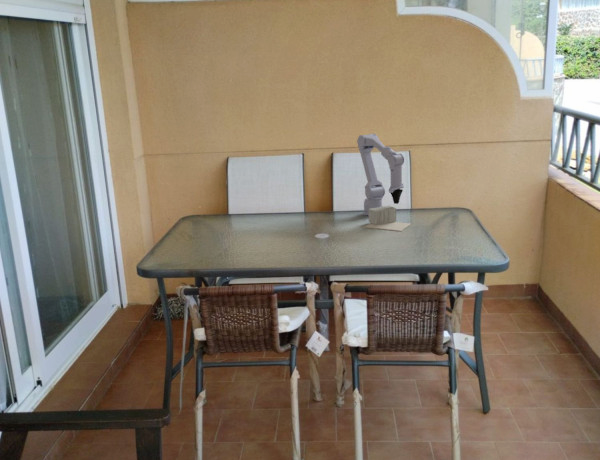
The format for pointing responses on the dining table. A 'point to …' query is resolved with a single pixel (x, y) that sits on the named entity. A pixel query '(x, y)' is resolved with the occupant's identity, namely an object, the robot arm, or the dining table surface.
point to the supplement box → (382, 215)
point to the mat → (390, 226)
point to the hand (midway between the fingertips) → (396, 203)
